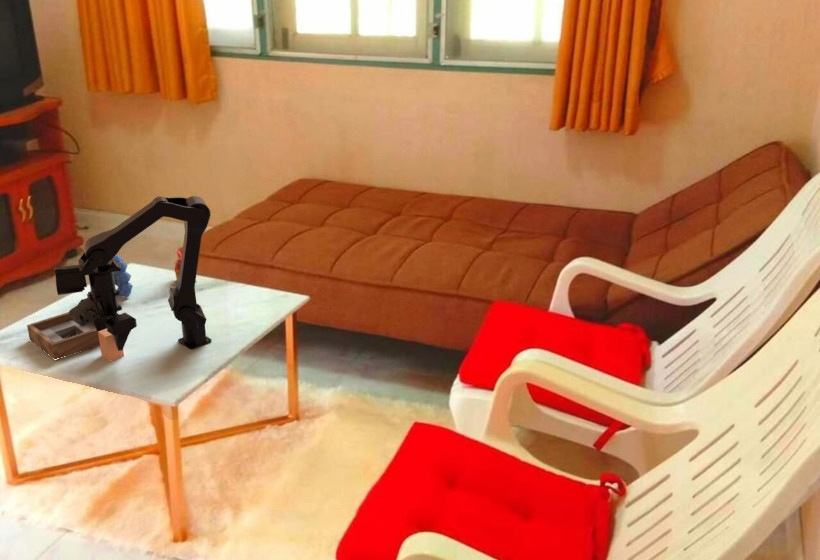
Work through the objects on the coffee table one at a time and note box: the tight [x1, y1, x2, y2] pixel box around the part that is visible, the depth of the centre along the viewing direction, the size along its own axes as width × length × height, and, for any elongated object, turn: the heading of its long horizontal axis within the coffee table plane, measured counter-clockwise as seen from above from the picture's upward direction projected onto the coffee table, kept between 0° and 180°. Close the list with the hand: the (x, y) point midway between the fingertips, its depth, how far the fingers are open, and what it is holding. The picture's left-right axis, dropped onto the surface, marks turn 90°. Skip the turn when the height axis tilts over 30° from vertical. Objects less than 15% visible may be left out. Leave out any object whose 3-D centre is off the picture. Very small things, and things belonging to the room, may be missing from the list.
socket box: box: [26, 311, 107, 360], centre depth 203 cm, size 15×15×4 cm
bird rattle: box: [174, 250, 197, 285], centre depth 237 cm, size 6×11×9 cm
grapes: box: [113, 255, 134, 298], centre depth 227 cm, size 12×7×12 cm, turn 39°
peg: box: [98, 329, 125, 362], centre depth 196 cm, size 4×4×7 cm
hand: (111, 343), depth 196 cm, fingers open, 9 cm apart
